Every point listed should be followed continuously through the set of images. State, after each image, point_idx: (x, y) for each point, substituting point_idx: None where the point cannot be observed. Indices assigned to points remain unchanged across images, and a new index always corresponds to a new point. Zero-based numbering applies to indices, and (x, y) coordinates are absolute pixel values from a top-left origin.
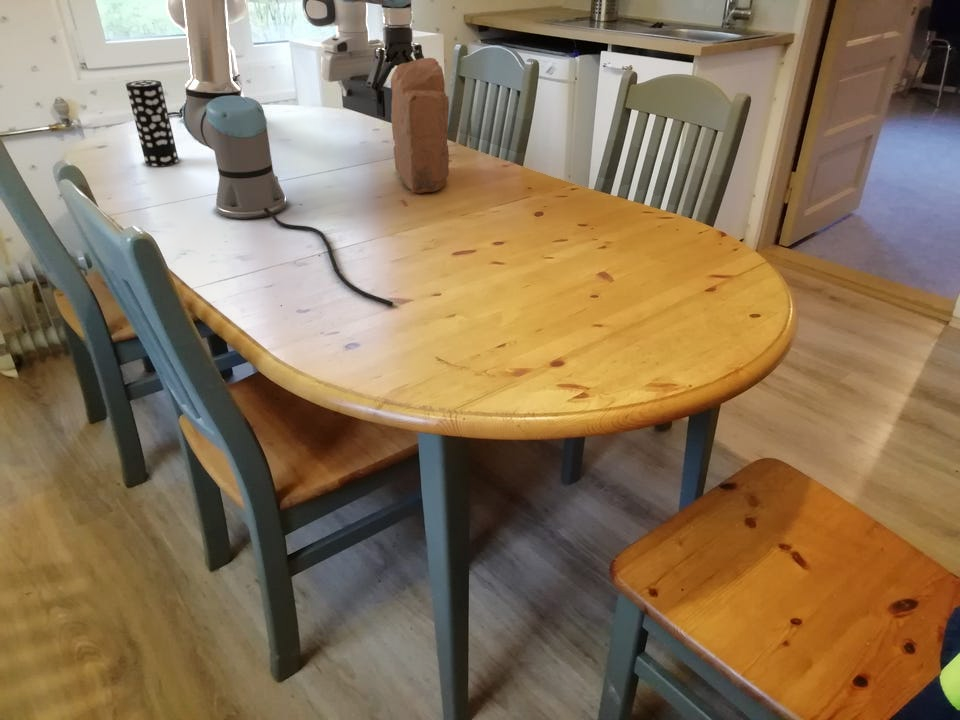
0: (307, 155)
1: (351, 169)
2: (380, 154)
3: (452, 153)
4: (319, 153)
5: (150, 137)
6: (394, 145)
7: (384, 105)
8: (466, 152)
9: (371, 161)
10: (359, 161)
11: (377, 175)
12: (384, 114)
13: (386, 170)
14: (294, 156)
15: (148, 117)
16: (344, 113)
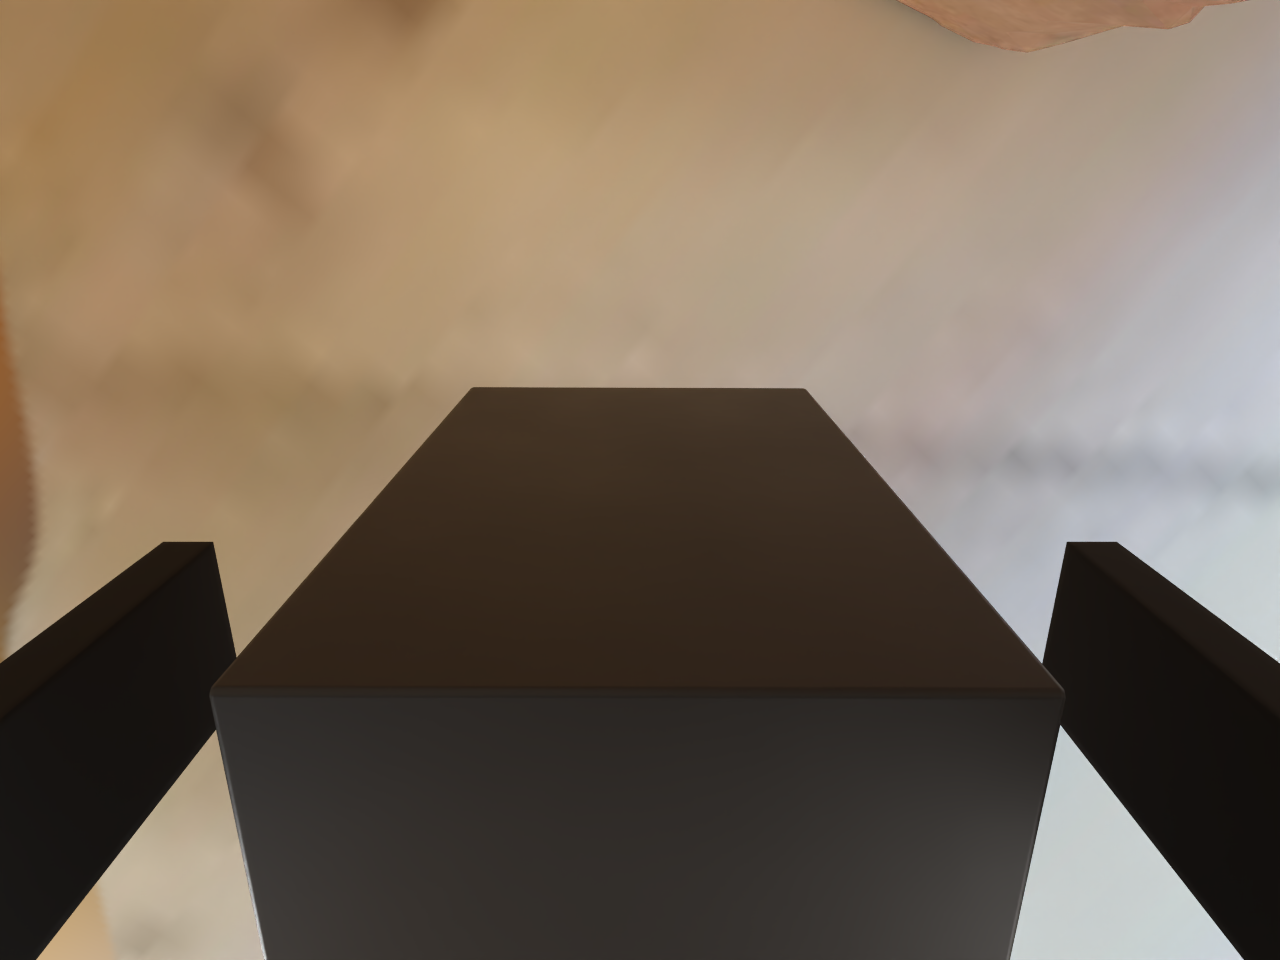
0: (1146, 889)
1: (1225, 412)
2: None
3: (177, 165)
4: (1055, 878)
5: None
6: (1193, 13)
7: (1194, 641)
8: (21, 85)
9: (942, 483)
10: (1009, 547)
11: (1230, 91)
12: (1104, 556)
13: (1054, 165)
14: None
15: None
16: None
